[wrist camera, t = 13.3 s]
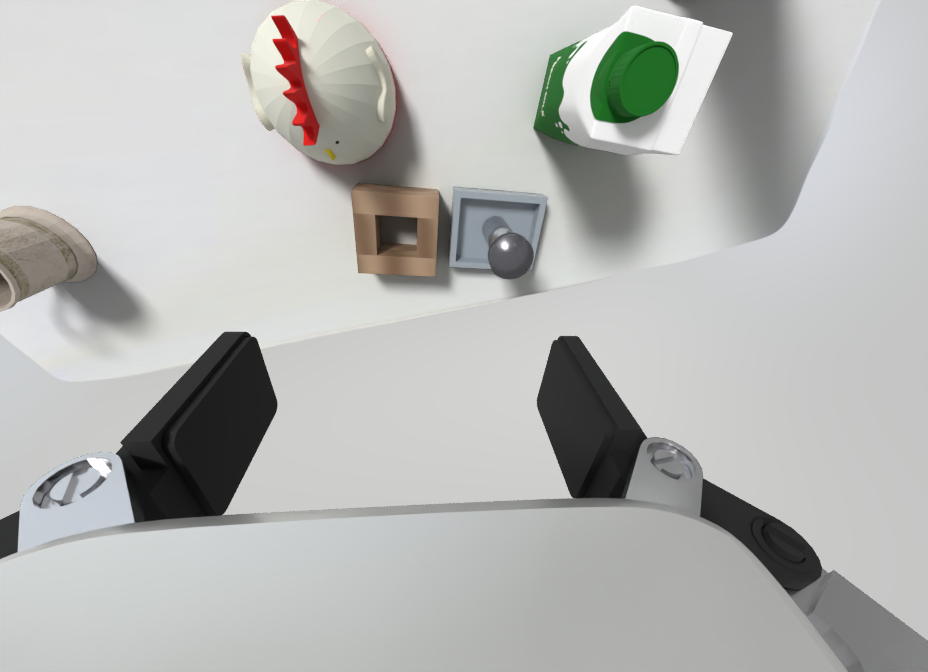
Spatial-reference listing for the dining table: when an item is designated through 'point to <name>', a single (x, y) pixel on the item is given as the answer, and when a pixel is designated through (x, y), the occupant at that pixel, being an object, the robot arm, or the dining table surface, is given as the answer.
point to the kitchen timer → (321, 82)
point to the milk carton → (631, 84)
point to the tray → (482, 204)
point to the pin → (506, 249)
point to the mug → (39, 253)
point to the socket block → (403, 203)
